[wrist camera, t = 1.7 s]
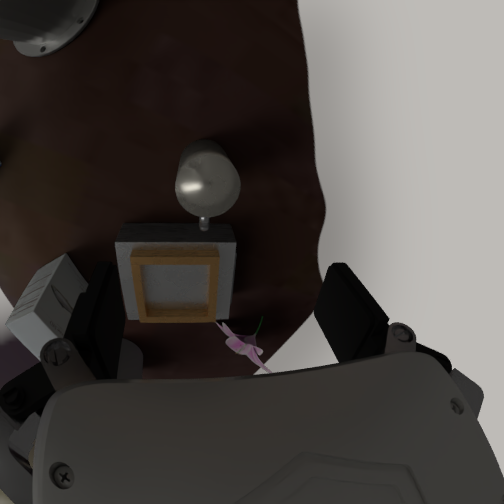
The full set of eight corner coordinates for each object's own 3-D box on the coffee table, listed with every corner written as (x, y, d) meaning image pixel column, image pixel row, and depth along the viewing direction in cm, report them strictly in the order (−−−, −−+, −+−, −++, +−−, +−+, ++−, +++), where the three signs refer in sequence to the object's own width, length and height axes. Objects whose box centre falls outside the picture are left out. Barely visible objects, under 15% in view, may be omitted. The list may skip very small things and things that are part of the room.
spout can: (181, 138, 29) (176, 154, 21) (228, 140, 30) (244, 157, 22) (178, 199, 33) (174, 237, 24) (222, 200, 34) (234, 238, 26)
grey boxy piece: (123, 223, 33) (111, 249, 27) (233, 223, 36) (242, 249, 31) (132, 296, 39) (126, 327, 33) (226, 295, 42) (232, 326, 37)
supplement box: (94, 289, 37) (73, 353, 26) (63, 302, 37) (40, 363, 26) (67, 250, 33) (33, 311, 22) (36, 268, 33) (3, 325, 22)
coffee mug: (141, 338, 43) (137, 386, 35) (145, 370, 48) (144, 414, 40) (71, 330, 40) (58, 375, 31) (83, 363, 45) (75, 405, 36)
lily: (222, 286, 42) (201, 340, 36) (296, 306, 42) (285, 364, 35) (220, 321, 51) (204, 366, 45) (280, 338, 50) (269, 385, 44)
